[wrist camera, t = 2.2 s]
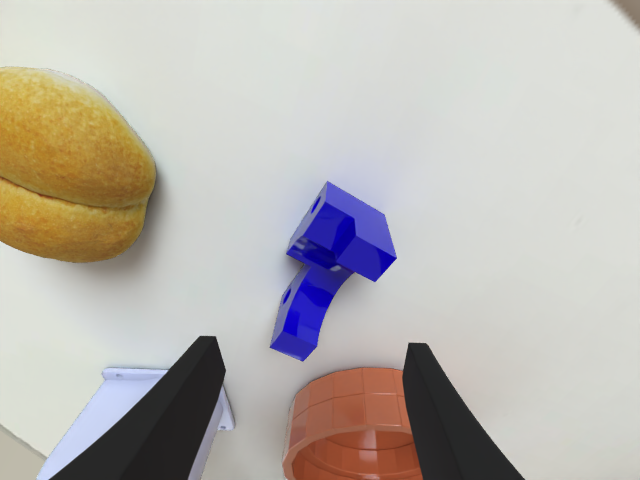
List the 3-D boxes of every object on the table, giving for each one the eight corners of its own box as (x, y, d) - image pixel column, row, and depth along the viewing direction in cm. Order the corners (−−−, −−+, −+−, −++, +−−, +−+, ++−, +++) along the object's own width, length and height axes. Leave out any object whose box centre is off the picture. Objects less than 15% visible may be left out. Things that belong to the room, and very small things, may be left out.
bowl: (296, 446, 29) (290, 506, 25) (284, 357, 22) (273, 420, 18) (437, 454, 28) (452, 516, 24) (470, 363, 21) (500, 430, 17)
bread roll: (177, 121, 14) (124, 142, 10) (142, 259, 18) (97, 305, 15) (-21, 19, 12) (-162, 3, 9) (-7, 197, 16) (-98, 233, 13)
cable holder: (327, 181, 15) (323, 217, 11) (384, 214, 16) (396, 258, 12) (260, 285, 19) (243, 336, 15) (309, 308, 19) (303, 361, 16)
